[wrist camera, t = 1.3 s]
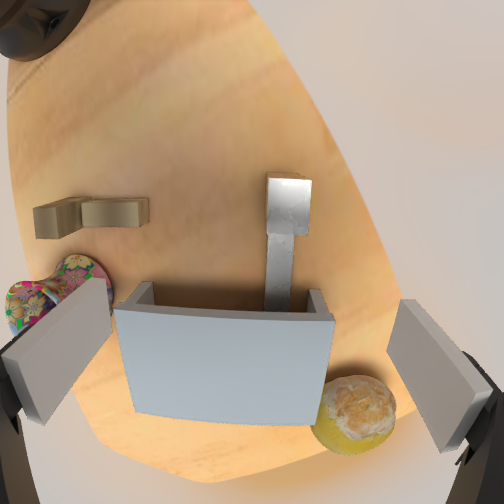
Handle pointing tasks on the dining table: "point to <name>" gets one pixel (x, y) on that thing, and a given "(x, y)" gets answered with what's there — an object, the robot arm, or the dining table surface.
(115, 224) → the l-shaped tan bracket
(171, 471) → the dining table surface
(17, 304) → the mug
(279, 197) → the grey piece
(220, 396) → the grey u-shaped bridge
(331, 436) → the fruit
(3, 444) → the robot arm
